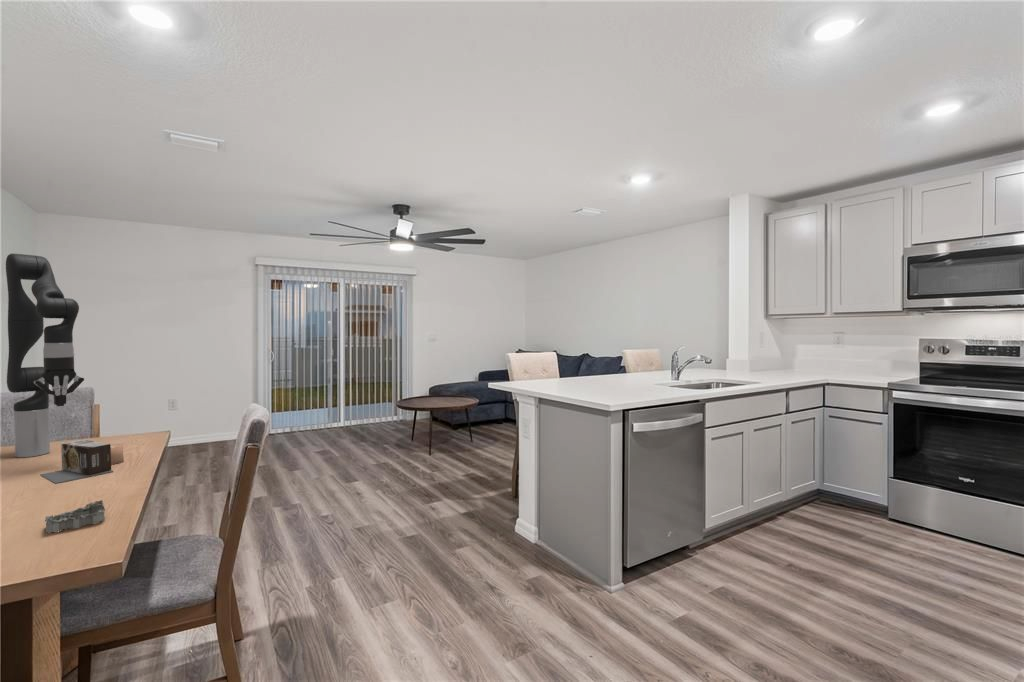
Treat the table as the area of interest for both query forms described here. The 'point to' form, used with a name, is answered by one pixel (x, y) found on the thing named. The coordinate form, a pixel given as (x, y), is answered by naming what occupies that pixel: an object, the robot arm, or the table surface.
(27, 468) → the table surface
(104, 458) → the coffee box
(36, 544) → the table surface
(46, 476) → the mat
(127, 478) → the table surface
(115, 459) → the beige short cylinder
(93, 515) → the ruined stone wall
